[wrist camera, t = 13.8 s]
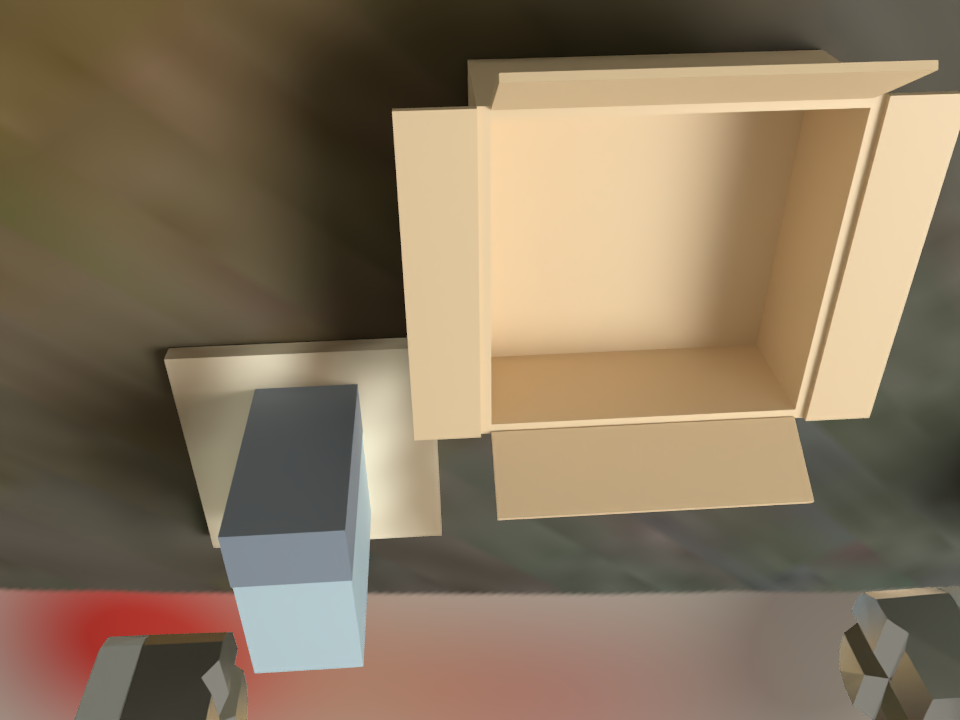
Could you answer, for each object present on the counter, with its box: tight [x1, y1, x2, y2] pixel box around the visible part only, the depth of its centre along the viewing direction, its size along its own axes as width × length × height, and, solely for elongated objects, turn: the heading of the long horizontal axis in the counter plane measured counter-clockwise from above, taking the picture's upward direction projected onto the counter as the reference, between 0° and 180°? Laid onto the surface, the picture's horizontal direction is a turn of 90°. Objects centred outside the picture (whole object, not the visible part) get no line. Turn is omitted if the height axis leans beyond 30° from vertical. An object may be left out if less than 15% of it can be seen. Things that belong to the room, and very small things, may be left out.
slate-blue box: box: [218, 384, 371, 673], centre depth 41 cm, size 5×9×10 cm, turn 1°
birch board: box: [164, 338, 442, 548], centre depth 46 cm, size 13×13×1 cm
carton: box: [392, 50, 960, 520], centre depth 36 cm, size 21×19×10 cm
